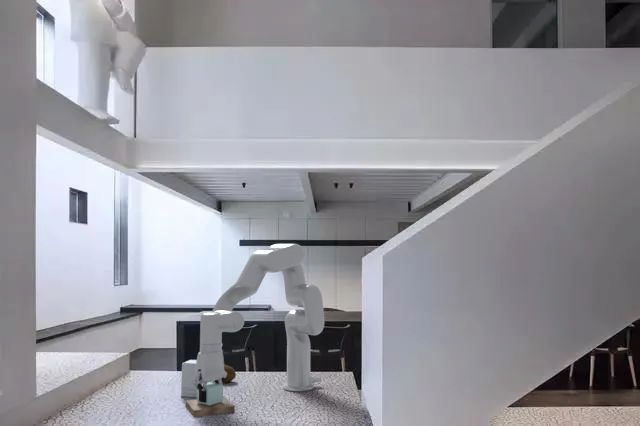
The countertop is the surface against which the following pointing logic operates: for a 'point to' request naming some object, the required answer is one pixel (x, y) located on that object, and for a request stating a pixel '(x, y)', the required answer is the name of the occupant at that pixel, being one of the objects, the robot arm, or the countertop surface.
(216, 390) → the pale blue cube
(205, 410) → the wooden peg base
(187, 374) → the supplement box
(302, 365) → the robot arm
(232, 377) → the potato
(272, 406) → the countertop surface
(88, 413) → the countertop surface
